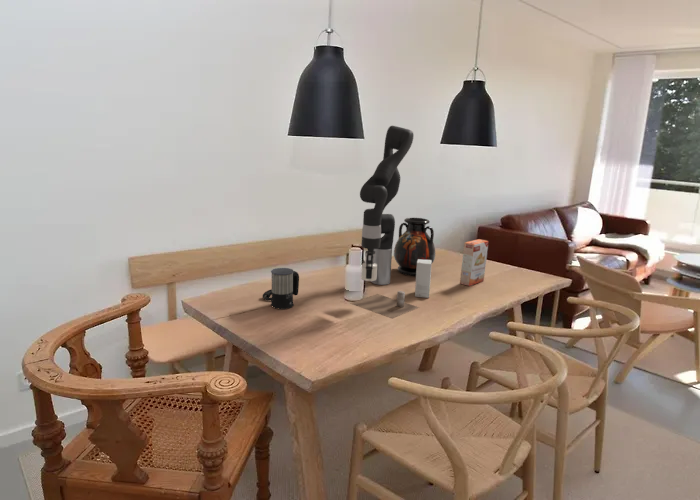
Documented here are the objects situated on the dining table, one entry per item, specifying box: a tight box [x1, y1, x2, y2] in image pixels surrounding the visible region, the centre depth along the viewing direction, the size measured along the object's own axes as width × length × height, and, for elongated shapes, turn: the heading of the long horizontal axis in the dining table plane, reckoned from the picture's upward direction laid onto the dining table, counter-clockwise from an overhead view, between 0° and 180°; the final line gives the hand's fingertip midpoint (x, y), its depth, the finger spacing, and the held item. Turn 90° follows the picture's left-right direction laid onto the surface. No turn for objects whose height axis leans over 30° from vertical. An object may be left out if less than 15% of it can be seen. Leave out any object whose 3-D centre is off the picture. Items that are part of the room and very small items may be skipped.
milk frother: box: [262, 267, 300, 310], centre depth 195 cm, size 14×16×15 cm
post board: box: [349, 290, 420, 319], centre depth 193 cm, size 22×18×8 cm
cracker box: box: [459, 238, 489, 287], centre depth 233 cm, size 14×6×21 cm, turn 136°
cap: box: [360, 262, 377, 282], centre depth 191 cm, size 6×6×6 cm
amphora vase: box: [393, 217, 436, 277], centre depth 246 cm, size 22×22×28 cm
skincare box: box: [414, 259, 433, 299], centre depth 212 cm, size 8×7×16 cm
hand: (369, 275), depth 192 cm, fingers closed on cap, 6 cm apart
